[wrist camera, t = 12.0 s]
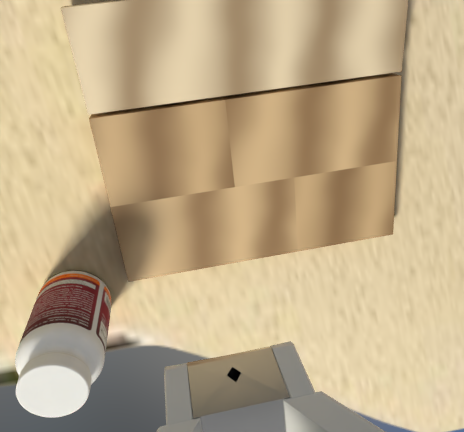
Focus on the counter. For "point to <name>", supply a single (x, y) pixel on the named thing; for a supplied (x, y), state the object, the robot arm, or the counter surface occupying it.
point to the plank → (226, 47)
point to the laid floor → (250, 173)
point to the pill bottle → (63, 344)
